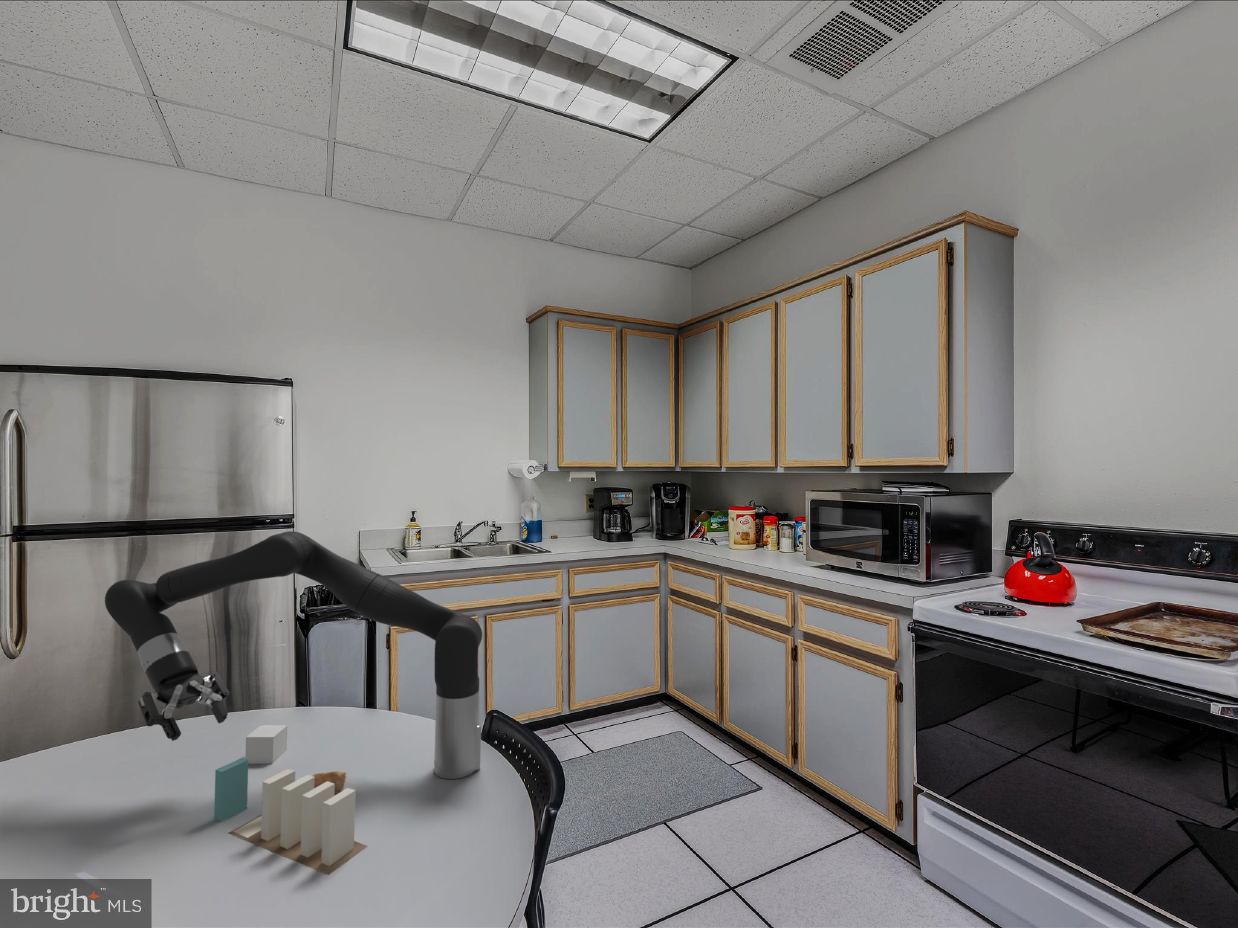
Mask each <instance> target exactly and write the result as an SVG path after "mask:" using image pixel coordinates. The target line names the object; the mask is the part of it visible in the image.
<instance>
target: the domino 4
mask: <svg viewBox="0 0 1238 928" xmlns="http://www.w3.org/2000/svg"><path fill="white" fill-rule="evenodd" d="M355 815H356V789H353V788H350V787H347V788H345V789H344V790H342V792H340V793H338V794H337V795H335V796H333V797H332V798H330V799H328V800H327V801H325V802H323V826H322V862H321V863H323V864H325V865H328V866H330V865H331V864H333V863H334V862H336V861H337V860H338V859H340V858H341V857H343V856H344V855H345V854H347V853H348V852H350V851H351V850H352V849H354V841H355V823H356V820H355V817H356V816H355Z"/></svg>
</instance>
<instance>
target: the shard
mask: <svg viewBox="0 0 1238 928" xmlns="http://www.w3.org/2000/svg"><path fill="white" fill-rule="evenodd" d="M346 774H347V772H345V771H338V770H337V771H328V772H327V771H326V772H321V773H314V774H313V775H312V776H313V777H315V782H314V788H316V787H318V786H320V785H322V784H323V783H325V782H327V781H328V782H331V783H334V784H335V790H334V796H335V795H337V794H338V793H340V792H342V791H343V788H344V786H345V782H346V778H347V775H346Z"/></svg>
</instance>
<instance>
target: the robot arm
mask: <svg viewBox="0 0 1238 928" xmlns="http://www.w3.org/2000/svg"><path fill="white" fill-rule="evenodd" d="M293 574H297V575H300V576H302V577H305V578H308V579H309V580H312V581H314V582H316V583H318V584H321V586H324V587H325V588H326V589H327V590H328V591H330V592H331V594H333V595H334V596H335V597H336V598H337V600H338V601H339V602H341V603H342V604H343V605H344V606H345V607H346V608H348V609H350V610H351V611H353V612H354V613H357V614H358V615H360V616H363V617H365V618H367V619H369V620H371V621H374V622H376V623H379V624H383V625H387V626H391V627H397V628H401V629H403V628H404V629H408V630H413V631H415V632H418V633H420V634H423V635H425V636H426V637H427V638H430V639H432V640H433V641H434V684H435V687H436V688H435V689H436V690H435V722H434V723H435V724H434V725H435V727H434V728H435V731H434V733H435V734H434V762H433V765H434V768H433V771H434V774H435V775H436V776H437V777H439V778H442V779H447V780H455V779H461V778H465V777H467V776H469V775H471V774H473V773H474V772H476V771H479V770H480V769H481V745H482V744H481V743H482V725H480V723H479V707H480V706H479V700H480V678H479V675H478V674H479V672H478V671H479V669H478V667H479V666H478V664H479V663H478V662H479V648H480V644H482V643H481V642H482V640H483V631H482V630H483V629H482V628H481V625H480V624H479V622H478V621H477V620H476V619H475V618H473V617H471V616H470V615H468V614H467V615H466V614H464V613H462V612H459V611H456V610H453V609H452V608H451V609H450V608H448V607H445V606H443V605H441V604H438V603H435V602H433V601H431V600H429V599H427V598H425V597H424V596H422V595H420V594H418V593H416V592H415V591H413V590H411V589H410V588H408V587H405V586H403V585H401V584H399V583H397V582H395V581H393V580H392V579H390V578H388V577H386V576H384V575H382V574H380V573H377V572H375V571H373V570H371V569H369V568H367V567H365V566H362V565H360V564H358V563H356V562H354V561H351V560H349V559H346V558H344V557H343V556H340V555H338V554H336V553H335V552H333V551H331V549H328V548H327V547H325V546H324V545H322V544H320V543H319V542H318V541H316V540H315V539H313V538H312V537H309V536H308V535H307V534H304V533H301V532H299V531H292V530H291V531H283V532H280V533H277V534H273V535H270V536H269V537H266V538H265V539H263V540H260V542H257V543H256V544H253V545H251V546H248V547H247V548H245V549H243V550H240V551H238V552H235V553H232V554H230V555H226V556H223V557H218V558H214V559H211V560H206V561H202V562H197V563H194V564H189V565H185V566H183V567H180V568H176V569H173V570H170V571H167V572H165V573H163V574H162V575H160V576H159V577H158V578H157V581H156V582H153V583H149V582H143V581H140V580H133V579H122V580H120V581H119V580H118V581H116V582H114V583H113V584H112V585H111V586H110V587H109V588H108V589H107V591H106V593H105V596H104V605H105V609H106V610H107V613H109V615H110V617H111V618H112V619H113V620H114V622H115V623H117V625H118V626H119V627H120V628H121V629H122V630H123V631H124V632H125V633H126V634H127V636H129V637H130V640H131V642H132V645H133V646H134V648H135V650H136V652H137V655H138V659H139V662H140V665H141V667H142V669H143V671H144V673H145V675H146V676H147V680H148V681H149V683H150V685H151V688H152V689H153V691H155V692H152V693H151V692H149V691H145V692H144V693H143V694H142V696H141V697H140V698H139V700H138V701H137V703H138V706H139V709H140V711H141V713H142V716H143V719H144V721H145V725H146V726H147V727H150V728H151V727H153V726H157V725H159V726H161V728H162V730H163V732H164V734H165V736H166V738H167V739H169V740H170V739H171V741H172V742H174V741H176V740H178V739H179V738H180V737H181V735H182V732H181V729H180V727H179V725H178V724H177V722H176V720H175V717H172V715H173V713H174V711H175V709H181V708H182V707H184V706H188V705H193V704H194V703H198V704H200V705H206V706H208V707H210V710H211V712H212V714H213V716H214V717H215V720H216V722H217V723H218V724H222V723H224V722H225V720H227V718H228V714H229V713H228V710H227V708H226V706H225V704H224V702H225V700H226V699H227V697H228V696H229V695H230V693H231V692H230V690H229V689H228V687H227V685H226V684H225V682H224V681H223V679H222V677H221V676H220V674H219V673H218V672H217V671H213V672H212V673H211V674H210V675H207V676H205V677H202V676H201V675H200V674H199V671H198V667H197V666H196V663H195V661H194V659H193V658H192V656H191V654H190V652H189V650H188V647H187V646H186V644H185V642H184V641H183V640H182V638H181V637H180V636H179V634H178V632H177V629H176V628H175V626H174V624H173V622H172V621H171V619H170V617H168V616H167V615H166V614H164V613H162V612H164V611H167V610H169V608H172V607H174V606H175V605H177V604H179V603H183V602H186V601H189V600H192V599H197V598H199V597H203V596H206V595H208V594H211V593H214V592H217V591H219V590H222V589H224V588H225V589H226V588H227V587H230V586H234V585H237V584H241V583H245V582H249V581H251V582H252V581H256V580H257V581H258V580H263V579H271V578H281V577H282V578H283V577H286V576H290V575H293ZM205 685H206V686H205ZM202 694H203V696H202ZM156 701H158V702H161V703H163V704H164V706H163V709H162V712H161V714H160V713H159V711H158V707H157V706H156Z"/></svg>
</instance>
